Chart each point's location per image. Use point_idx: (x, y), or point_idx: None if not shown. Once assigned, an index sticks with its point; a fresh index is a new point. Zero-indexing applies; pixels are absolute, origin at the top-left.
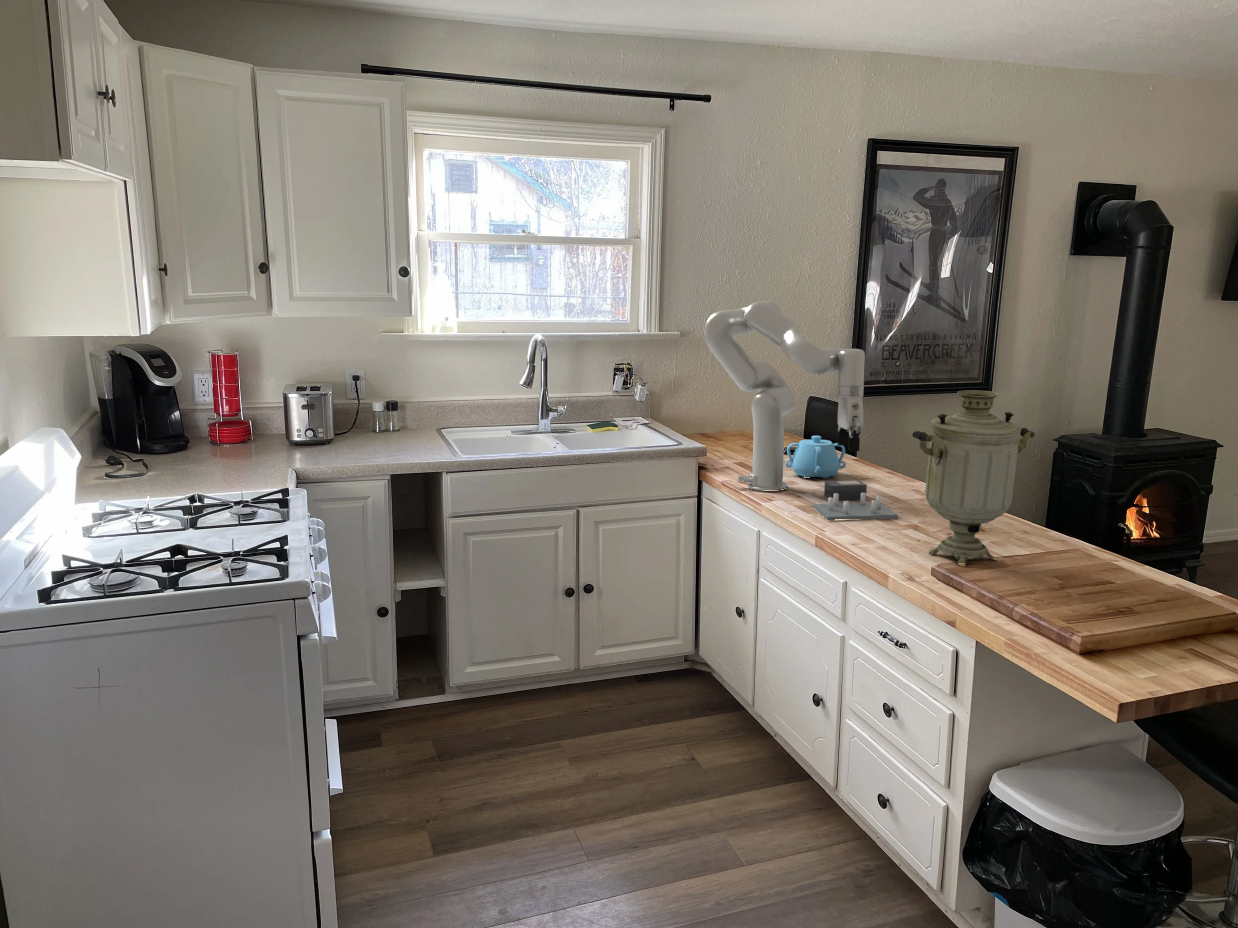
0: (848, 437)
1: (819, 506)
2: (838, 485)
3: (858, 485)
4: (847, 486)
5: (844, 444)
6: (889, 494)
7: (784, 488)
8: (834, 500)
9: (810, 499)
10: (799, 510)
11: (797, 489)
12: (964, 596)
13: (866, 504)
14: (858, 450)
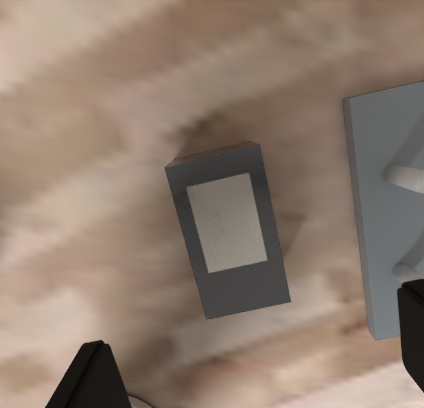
0: (68, 399)
1: None
2: (279, 272)
3: (266, 185)
4: (276, 233)
5: (117, 372)
6: (136, 22)
7: (140, 405)
8: None
9: (252, 330)
10: (396, 368)
11: None
12: None
13: (386, 158)
14: (421, 284)
